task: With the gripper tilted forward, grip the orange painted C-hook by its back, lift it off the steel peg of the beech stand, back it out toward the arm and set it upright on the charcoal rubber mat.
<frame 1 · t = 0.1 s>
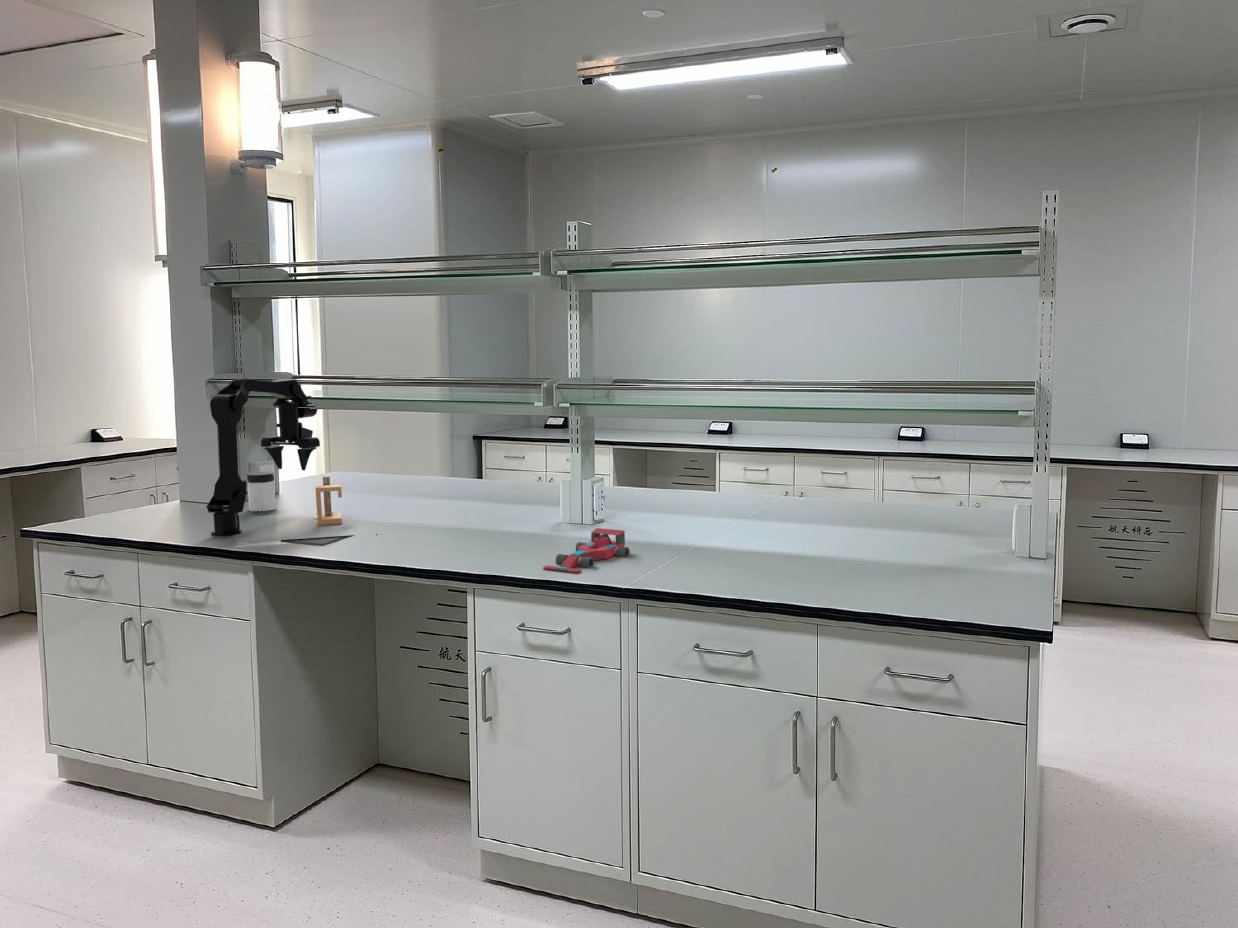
hand: (291, 469, 304), 15 cm above the table, tool pointing down, fingers open, 9 cm apart
jar: (262, 510, 318), on the table
hook stand: (320, 527, 287), on the table
c hook: (320, 523, 287), point 1 cm above the table, touching hook stand
race car: (586, 563, 241), on the table
rubber mat: (318, 538, 271), on the table
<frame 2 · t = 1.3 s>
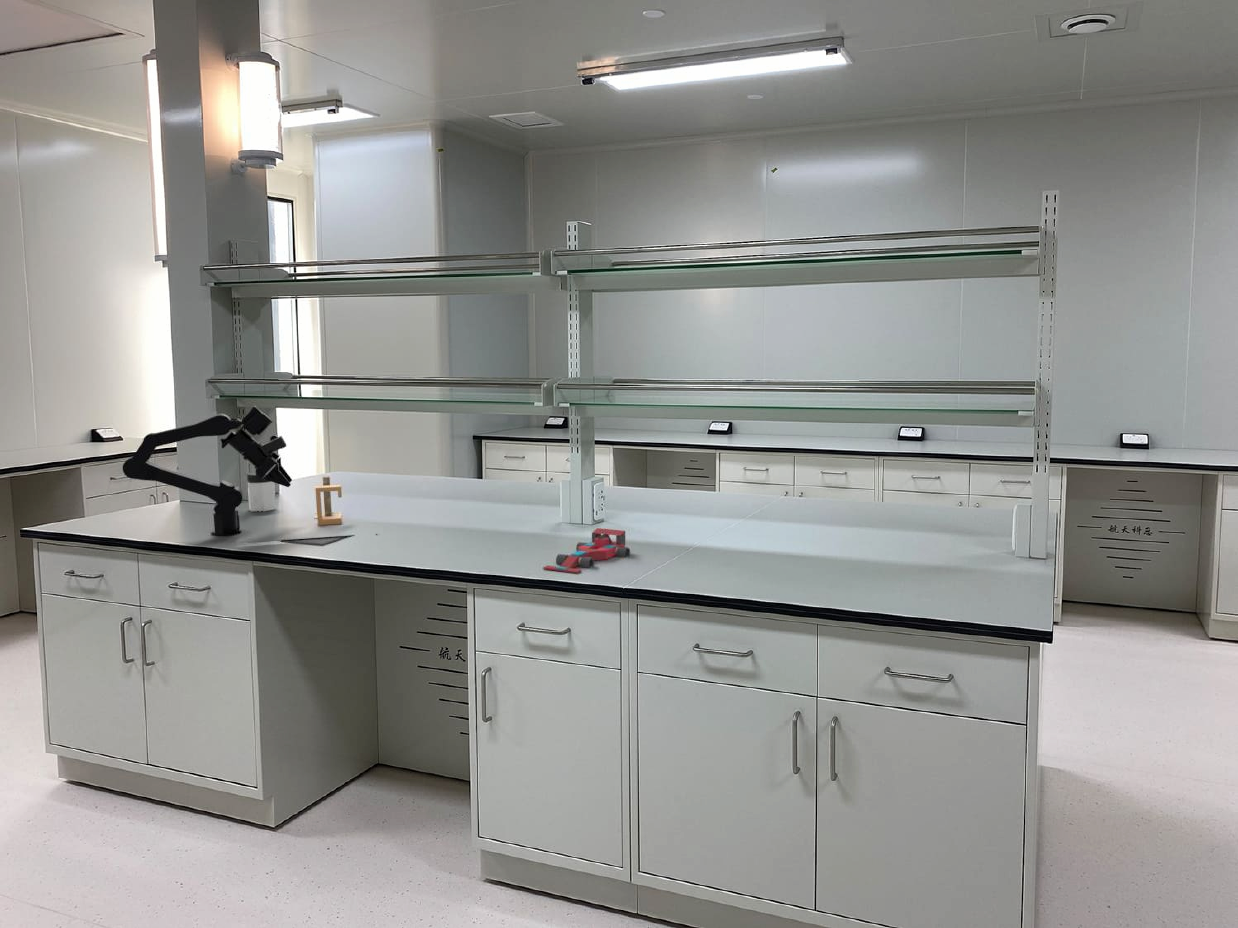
hand: (290, 483, 284), 13 cm above the table, tool tilted 45°, fingers open, 9 cm apart
nothing on the table moved.
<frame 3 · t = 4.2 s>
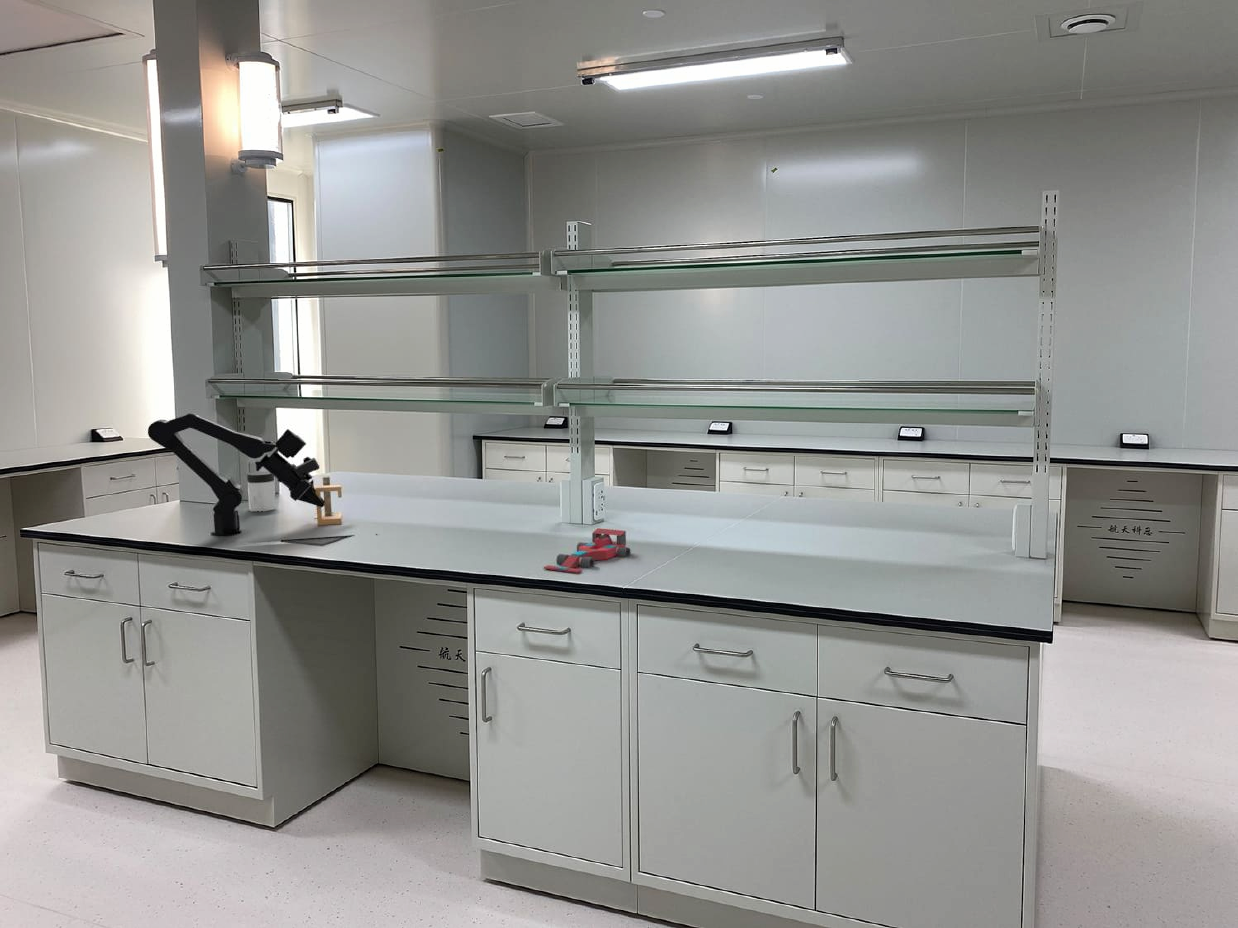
hand: (323, 504, 287), 7 cm above the table, tool tilted 45°, fingers closed on c hook, 4 cm apart
c hook: (319, 523, 287), point 1 cm above the table, touching gripper, hook stand
everything else where it was.
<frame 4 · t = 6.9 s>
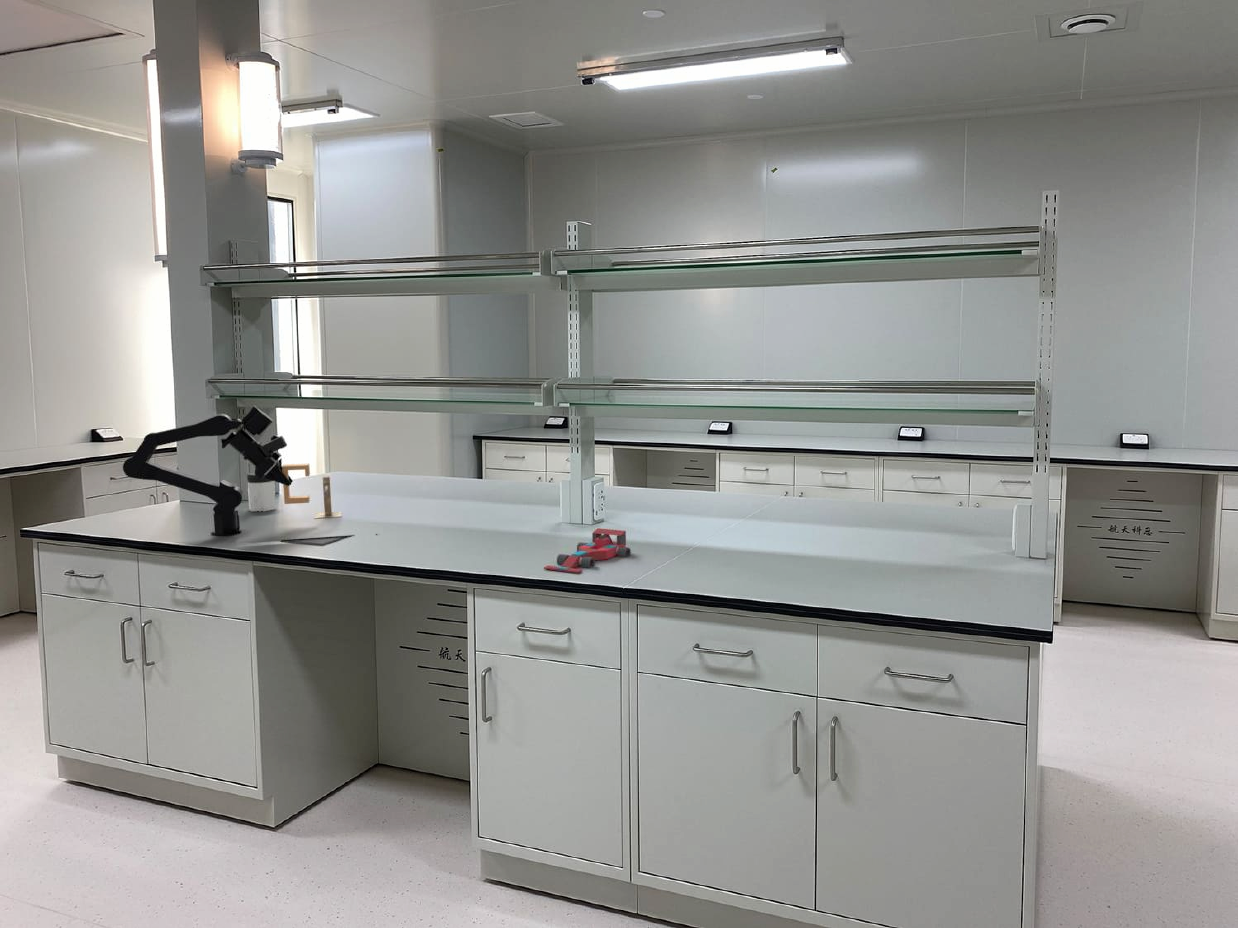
hand: (291, 483, 283), 14 cm above the table, tool tilted 45°, fingers closed on c hook, 4 cm apart
c hook: (287, 502, 283), point 8 cm above the table, touching gripper
everything else where it was.
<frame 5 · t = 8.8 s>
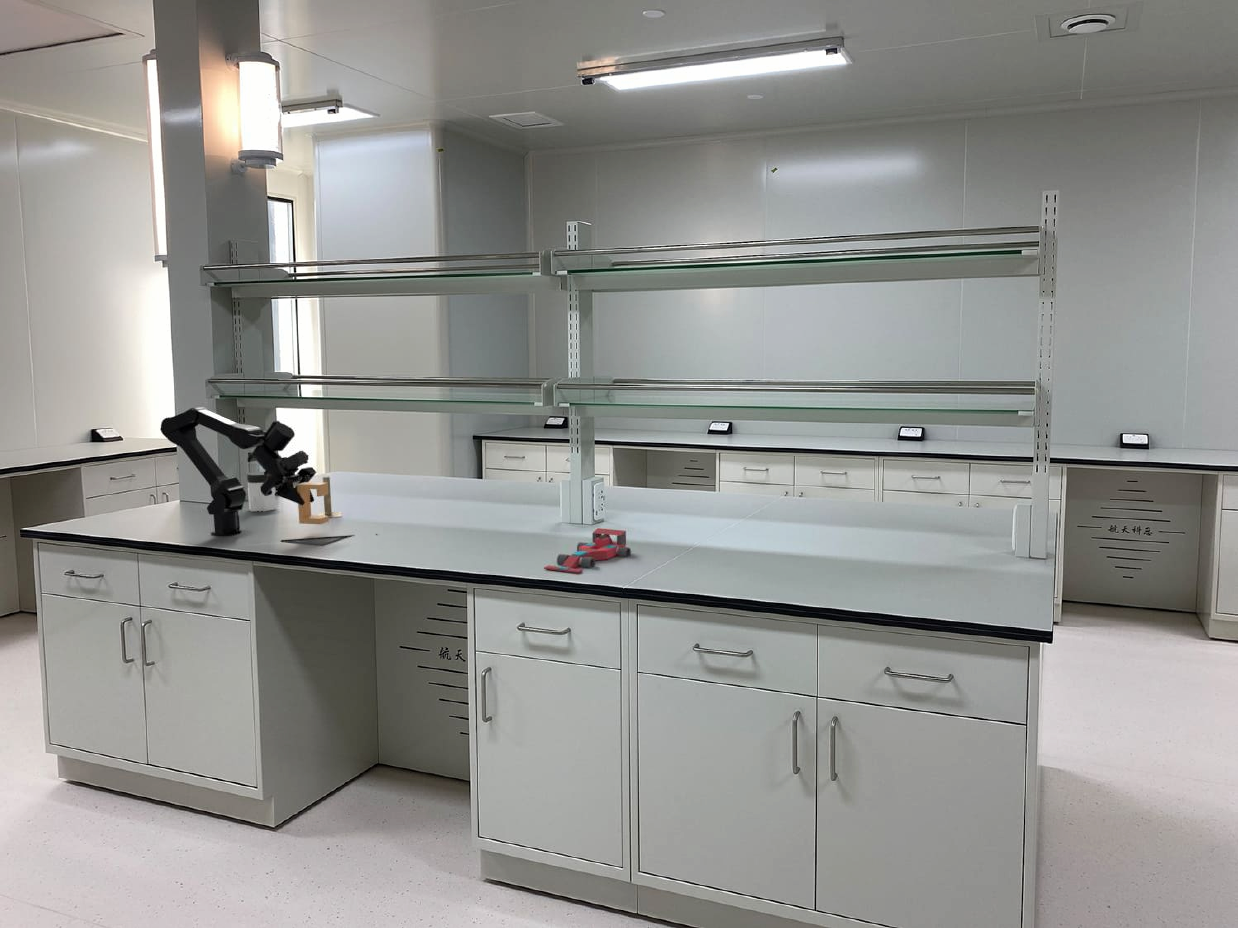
hand: (308, 502, 270), 10 cm above the table, tool tilted 45°, fingers closed on c hook, 4 cm apart
c hook: (305, 522, 272), point 4 cm above the table, touching gripper
everything else where it was.
when the fingers open (7 cm above the table, at t = 10.0 s): c hook stays where it is, resting on rubber mat.
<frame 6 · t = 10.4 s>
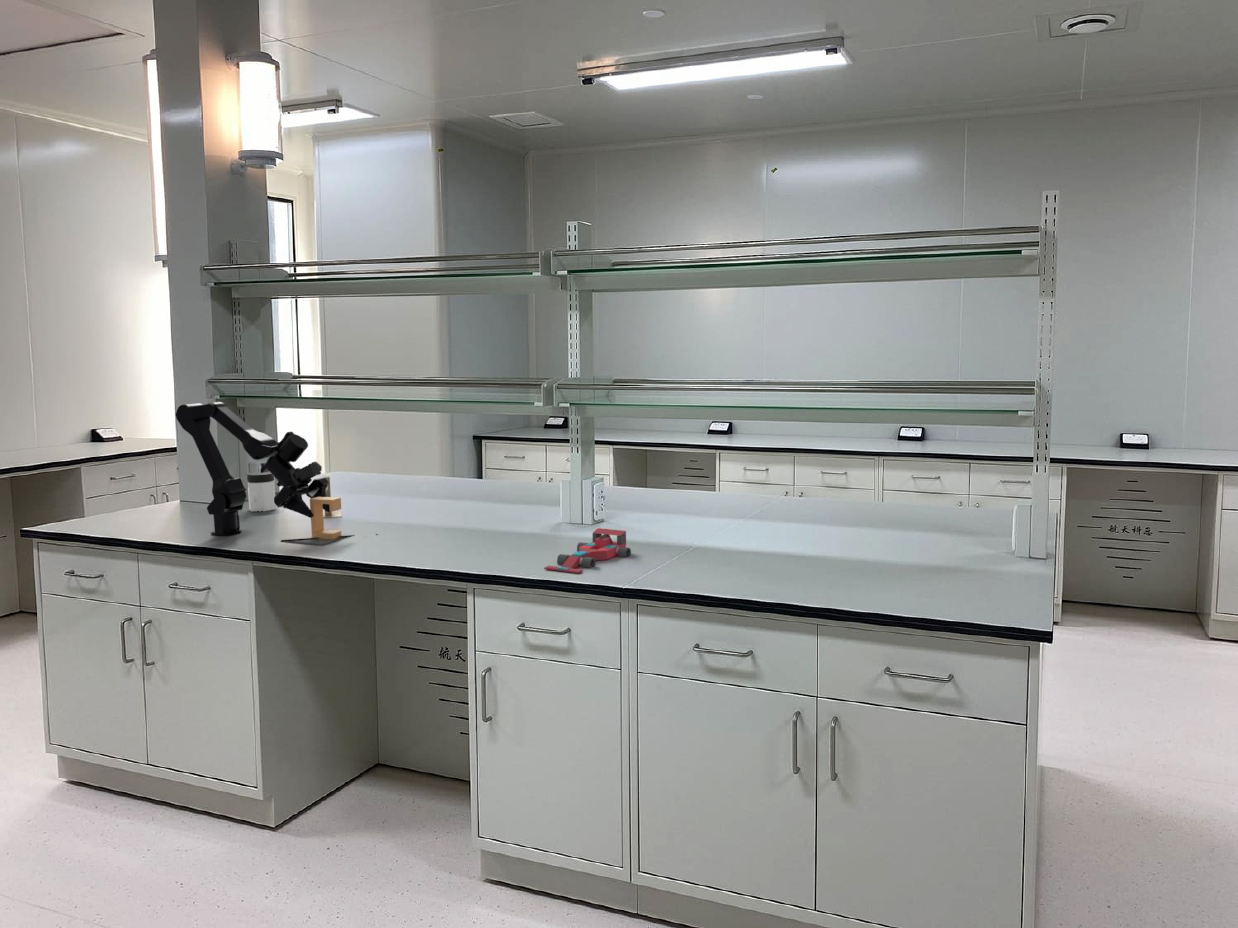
hand: (321, 513, 270), 7 cm above the table, tool tilted 45°, fingers open, 8 cm apart
c hook: (318, 536, 271), resting on rubber mat
everything else where it was.
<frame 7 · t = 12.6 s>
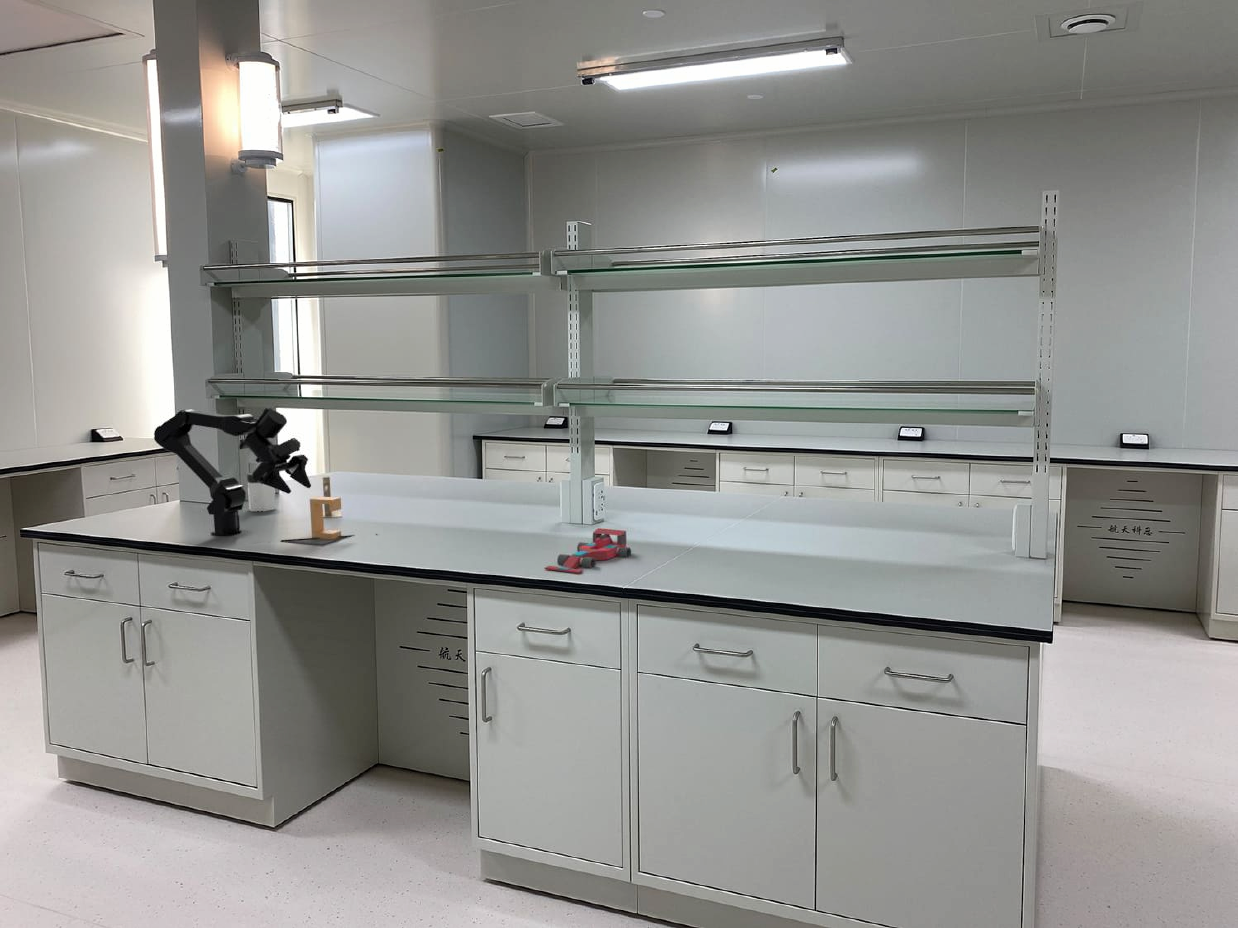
hand: (300, 489, 271), 14 cm above the table, tool tilted 45°, fingers open, 9 cm apart
nothing on the table moved.
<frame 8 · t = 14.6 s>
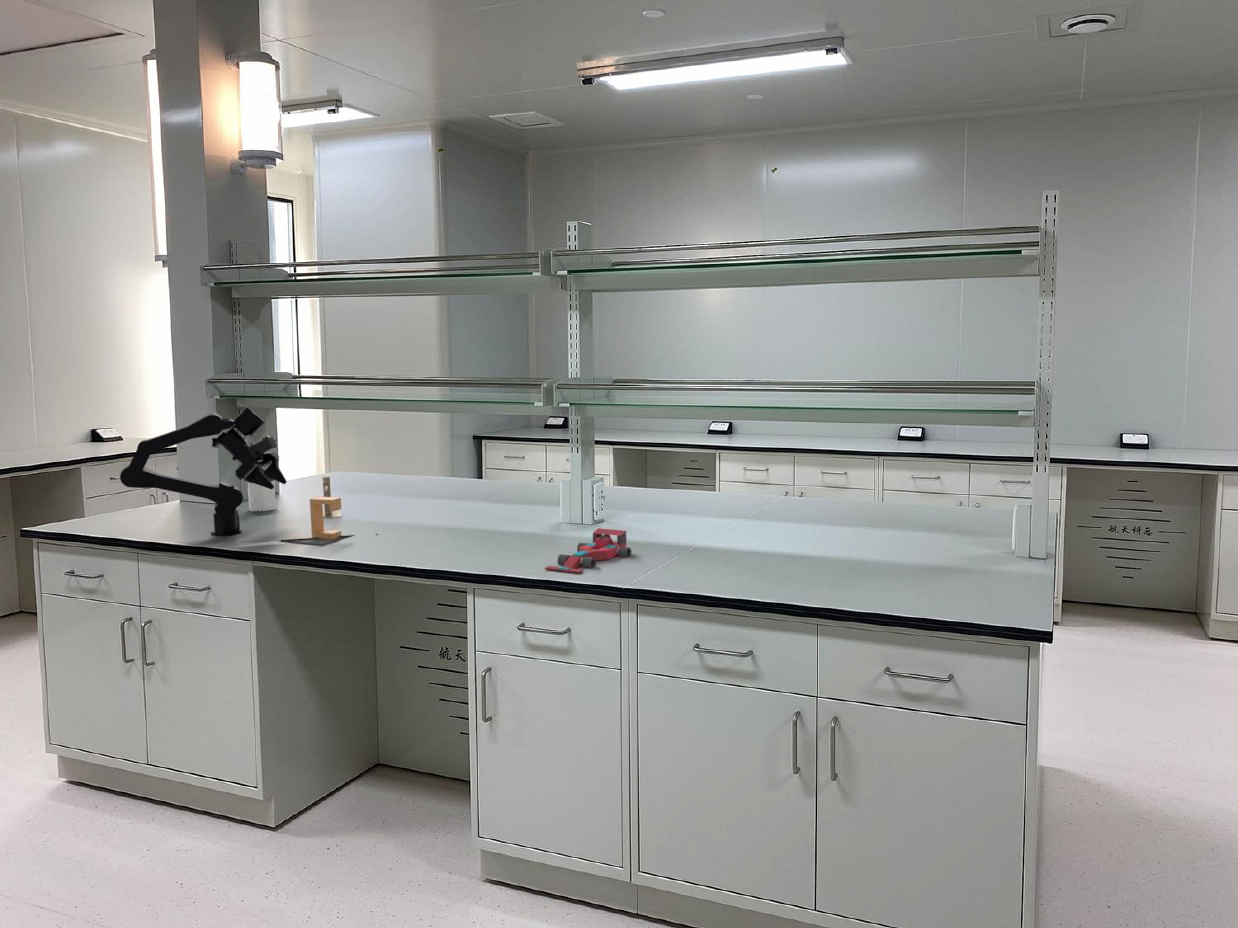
hand: (279, 485, 279), 14 cm above the table, tool tilted 45°, fingers open, 9 cm apart
nothing on the table moved.
at the end: c hook inside the target area on the rubber mat (0.1 cm from its centre), point 0.5 cm above the rubber mat's base; c hook tilted 0°; c hook touching rubber mat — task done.
